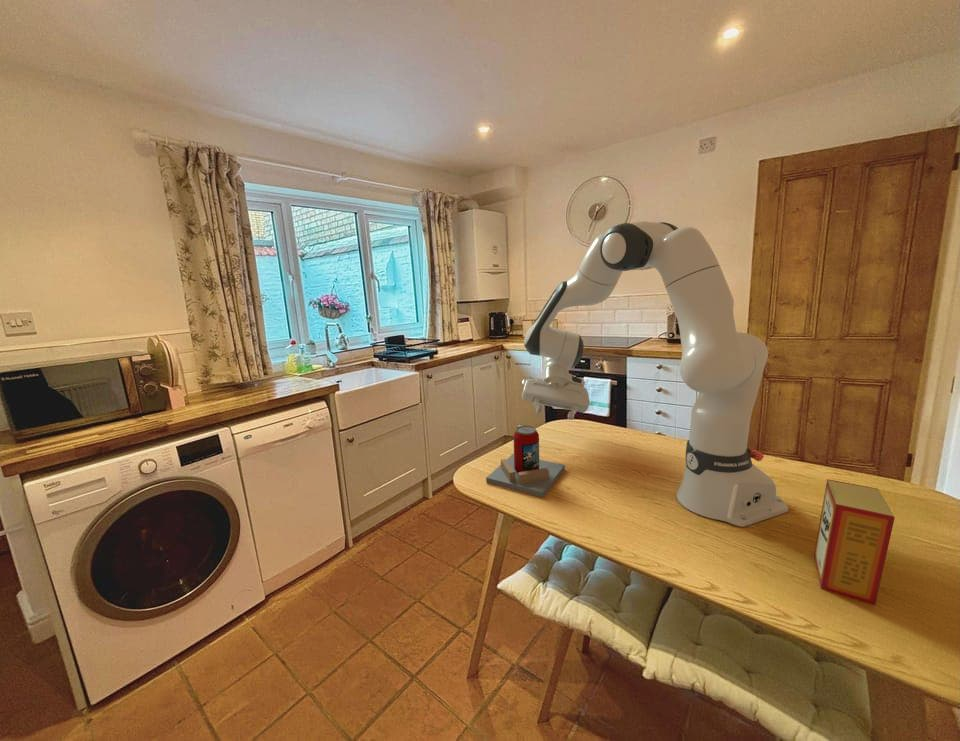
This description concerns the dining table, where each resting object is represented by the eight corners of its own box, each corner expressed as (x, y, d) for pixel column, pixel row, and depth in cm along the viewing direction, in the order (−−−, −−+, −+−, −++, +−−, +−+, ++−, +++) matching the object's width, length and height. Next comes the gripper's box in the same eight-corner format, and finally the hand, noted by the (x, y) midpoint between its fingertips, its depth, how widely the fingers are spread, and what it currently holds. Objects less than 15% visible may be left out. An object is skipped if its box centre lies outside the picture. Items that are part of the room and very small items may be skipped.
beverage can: (531, 479, 102) (530, 436, 99) (509, 472, 106) (508, 430, 103) (543, 468, 107) (543, 427, 104) (522, 462, 111) (521, 423, 108)
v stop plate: (513, 458, 117) (512, 446, 116) (564, 469, 109) (564, 456, 108) (486, 482, 104) (485, 468, 103) (542, 497, 96) (542, 482, 95)
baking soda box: (813, 555, 73) (827, 477, 69) (861, 568, 70) (878, 486, 66) (821, 588, 66) (836, 503, 62) (875, 605, 62) (895, 515, 58)
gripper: (525, 369, 122) (521, 401, 112) (589, 381, 122) (592, 414, 112) (521, 383, 127) (517, 415, 117) (583, 395, 126) (586, 428, 116)
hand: (554, 415), depth 114 cm, fingers open, 8 cm apart
